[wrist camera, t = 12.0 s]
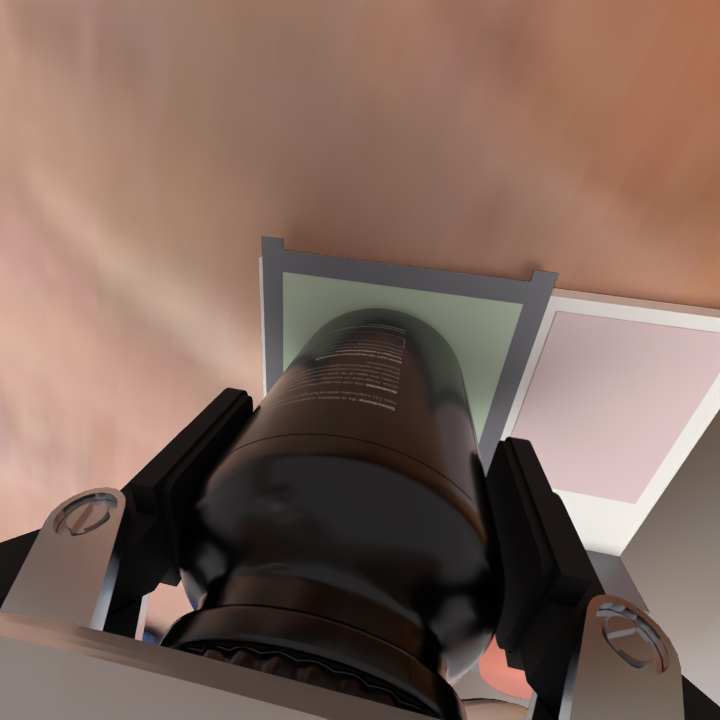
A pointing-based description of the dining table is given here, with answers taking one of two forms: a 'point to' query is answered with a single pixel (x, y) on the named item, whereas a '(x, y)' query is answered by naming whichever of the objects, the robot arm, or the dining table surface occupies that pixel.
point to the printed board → (533, 370)
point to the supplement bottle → (350, 525)
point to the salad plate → (493, 709)
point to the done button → (503, 673)
